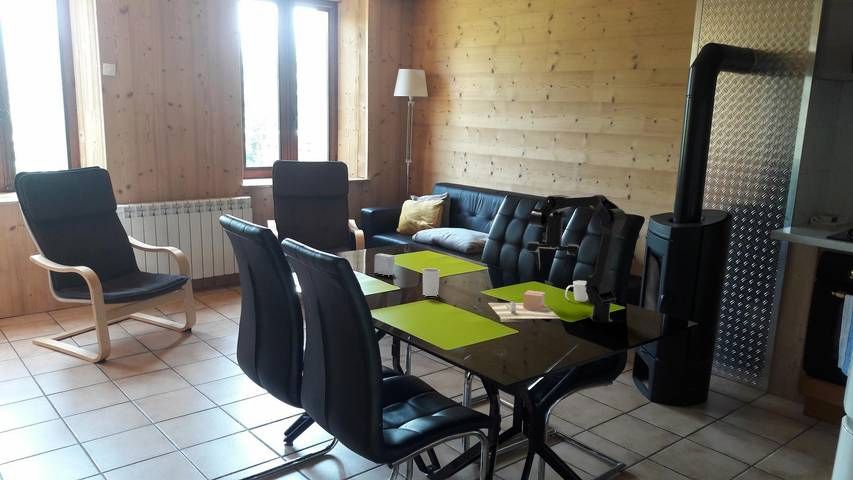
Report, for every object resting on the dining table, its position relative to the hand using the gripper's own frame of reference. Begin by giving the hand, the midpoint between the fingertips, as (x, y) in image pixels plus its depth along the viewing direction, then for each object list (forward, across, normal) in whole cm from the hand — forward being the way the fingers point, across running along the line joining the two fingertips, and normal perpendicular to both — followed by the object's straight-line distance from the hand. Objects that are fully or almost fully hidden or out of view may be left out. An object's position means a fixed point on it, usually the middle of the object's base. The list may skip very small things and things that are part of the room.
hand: (551, 270), depth 252 cm
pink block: (+12, +5, +8) cm, 16 cm away
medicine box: (+13, +73, -26) cm, 79 cm away
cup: (+14, -10, -8) cm, 19 cm away
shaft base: (+14, +8, +15) cm, 22 cm away
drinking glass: (+13, +46, +2) cm, 47 cm away
